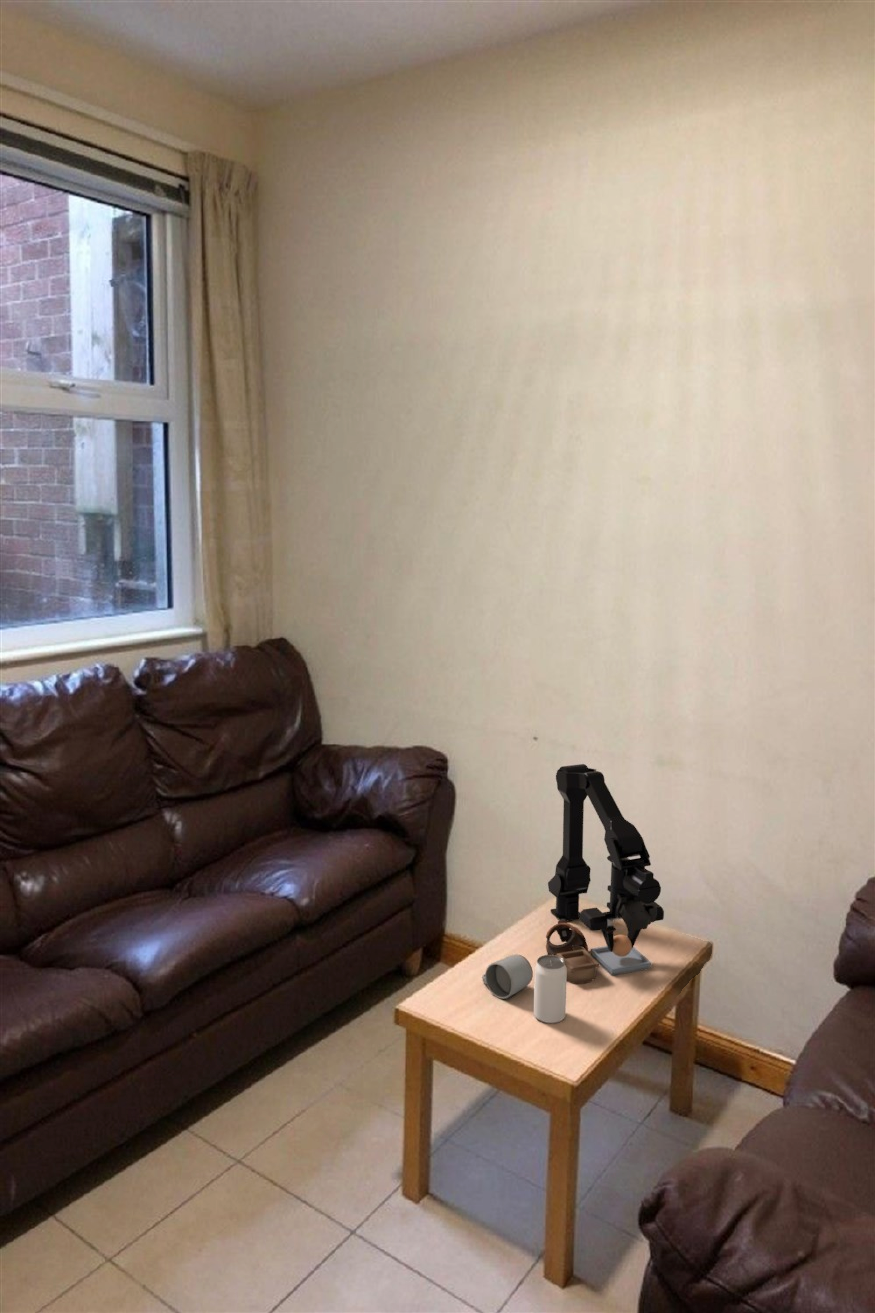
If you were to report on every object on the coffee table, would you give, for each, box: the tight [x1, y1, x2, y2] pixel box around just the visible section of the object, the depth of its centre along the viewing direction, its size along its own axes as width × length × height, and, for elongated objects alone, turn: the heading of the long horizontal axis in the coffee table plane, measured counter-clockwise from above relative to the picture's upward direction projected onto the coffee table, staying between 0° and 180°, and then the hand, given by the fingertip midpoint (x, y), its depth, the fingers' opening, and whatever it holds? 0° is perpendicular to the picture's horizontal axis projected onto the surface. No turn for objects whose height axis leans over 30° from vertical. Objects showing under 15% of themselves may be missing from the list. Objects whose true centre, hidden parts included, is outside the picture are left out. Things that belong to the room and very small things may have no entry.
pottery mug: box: [545, 919, 590, 956], centre depth 217 cm, size 12×10×8 cm
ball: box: [613, 934, 632, 957], centre depth 212 cm, size 5×5×5 cm
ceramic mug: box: [481, 953, 534, 1000], centre depth 201 cm, size 11×8×8 cm
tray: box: [589, 945, 652, 977], centre depth 213 cm, size 10×10×2 cm
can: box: [533, 954, 567, 1025], centre depth 190 cm, size 6×6×12 cm
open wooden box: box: [555, 948, 600, 985], centre depth 207 cm, size 8×8×4 cm
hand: (620, 949), depth 213 cm, fingers closed on ball, 5 cm apart
